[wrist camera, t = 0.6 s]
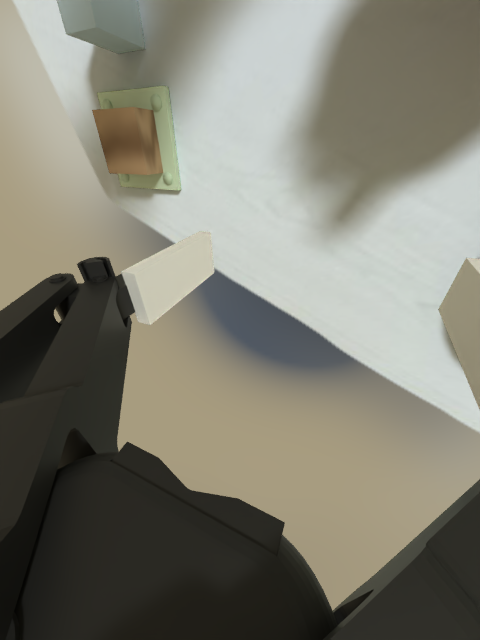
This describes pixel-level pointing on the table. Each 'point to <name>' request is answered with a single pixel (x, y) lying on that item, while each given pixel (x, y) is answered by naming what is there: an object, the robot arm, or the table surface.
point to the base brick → (129, 140)
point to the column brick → (104, 23)
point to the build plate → (161, 106)
